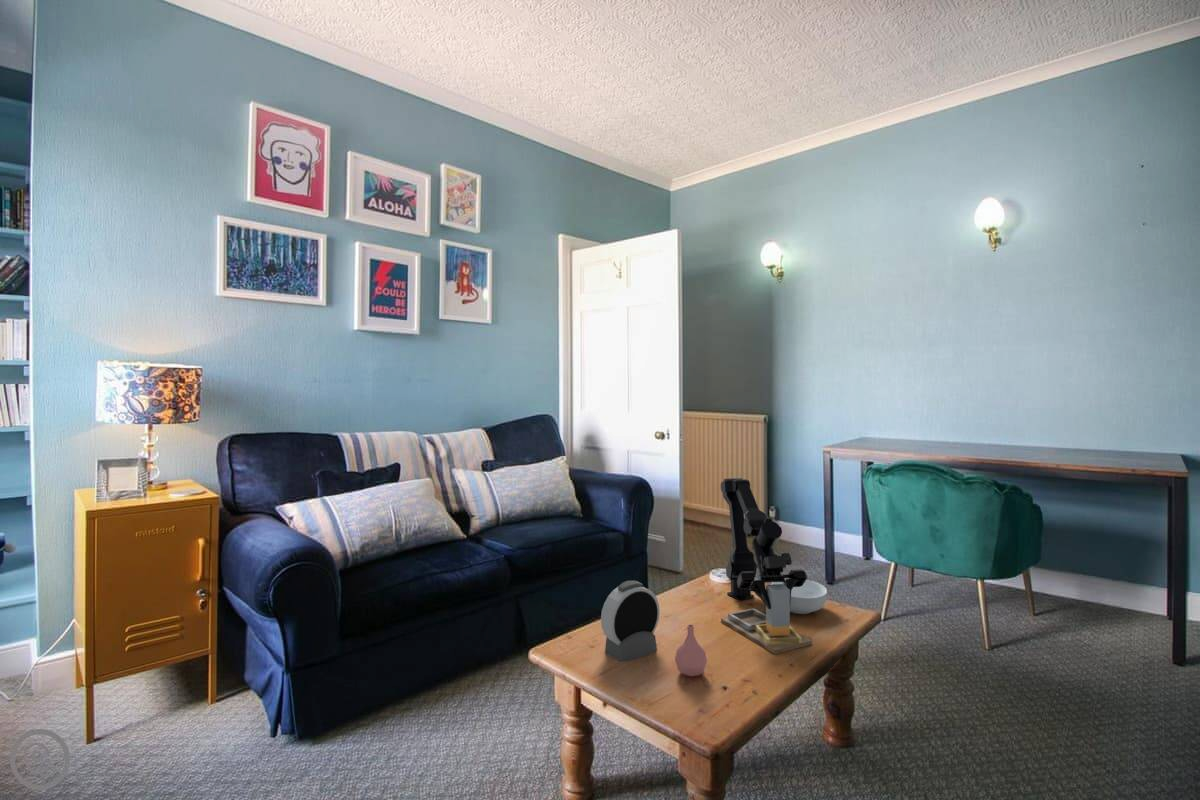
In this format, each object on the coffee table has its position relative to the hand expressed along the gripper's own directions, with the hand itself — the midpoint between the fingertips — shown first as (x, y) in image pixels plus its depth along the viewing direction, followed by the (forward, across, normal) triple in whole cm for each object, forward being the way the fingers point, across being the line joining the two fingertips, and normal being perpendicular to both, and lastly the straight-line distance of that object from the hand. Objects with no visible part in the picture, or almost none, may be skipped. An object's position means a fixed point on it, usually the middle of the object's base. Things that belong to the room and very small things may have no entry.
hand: (779, 608), depth 159 cm
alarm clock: (+7, -41, +6) cm, 42 cm away
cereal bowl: (-9, +14, +22) cm, 28 cm away
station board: (+2, -2, +11) cm, 11 cm away
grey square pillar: (+4, 0, +6) cm, 7 cm away
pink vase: (+17, -28, -4) cm, 33 cm away
